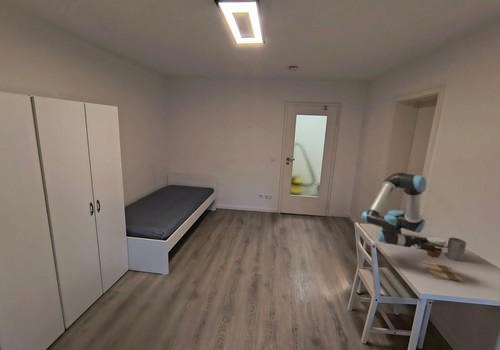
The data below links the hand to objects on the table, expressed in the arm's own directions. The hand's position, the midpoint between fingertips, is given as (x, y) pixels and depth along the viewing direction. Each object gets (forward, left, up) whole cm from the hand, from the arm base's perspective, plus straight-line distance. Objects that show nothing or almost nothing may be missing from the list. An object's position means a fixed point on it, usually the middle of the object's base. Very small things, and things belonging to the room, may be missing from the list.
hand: (443, 247), depth 148 cm
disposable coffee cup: (0, -5, -7) cm, 9 cm away
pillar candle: (-26, +20, -18) cm, 37 cm away
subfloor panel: (0, +2, -18) cm, 18 cm away
